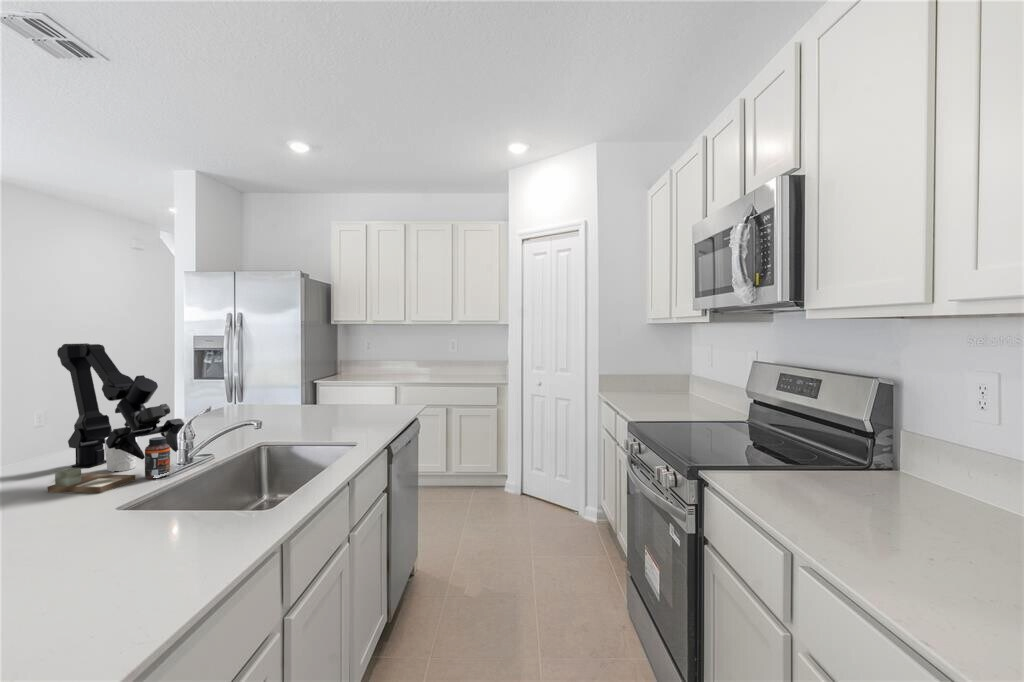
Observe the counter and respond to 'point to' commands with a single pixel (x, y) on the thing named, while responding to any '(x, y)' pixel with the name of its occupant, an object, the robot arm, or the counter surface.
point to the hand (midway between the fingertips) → (160, 454)
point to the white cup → (119, 459)
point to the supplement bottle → (157, 457)
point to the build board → (86, 481)
